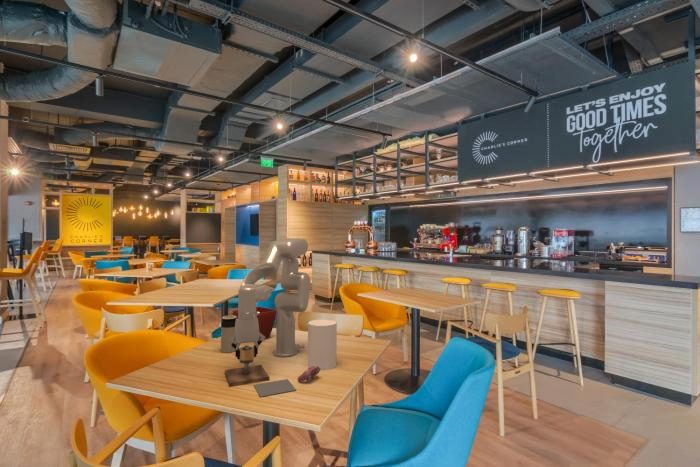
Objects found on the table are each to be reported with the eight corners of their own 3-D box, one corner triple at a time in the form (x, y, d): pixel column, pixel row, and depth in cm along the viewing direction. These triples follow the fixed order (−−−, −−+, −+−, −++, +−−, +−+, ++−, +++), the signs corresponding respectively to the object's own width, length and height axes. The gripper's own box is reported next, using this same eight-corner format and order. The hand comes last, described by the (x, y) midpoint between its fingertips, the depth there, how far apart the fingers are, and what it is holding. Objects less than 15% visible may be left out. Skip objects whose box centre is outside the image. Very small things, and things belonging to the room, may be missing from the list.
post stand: (261, 367, 163) (261, 339, 164) (269, 380, 149) (269, 349, 149) (224, 373, 156) (225, 343, 157) (229, 386, 142) (229, 354, 142)
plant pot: (231, 338, 212) (231, 310, 212) (258, 332, 227) (258, 306, 227) (249, 344, 200) (250, 314, 200) (277, 338, 214) (277, 310, 215)
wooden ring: (252, 354, 157) (252, 345, 157) (255, 359, 151) (255, 349, 152) (237, 356, 154) (237, 347, 154) (240, 361, 149) (240, 351, 149)
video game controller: (303, 387, 145) (309, 374, 144) (295, 380, 148) (301, 367, 146) (317, 379, 154) (323, 366, 152) (310, 373, 156) (316, 360, 154)
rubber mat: (287, 379, 149) (287, 379, 149) (296, 390, 139) (296, 389, 139) (253, 385, 143) (253, 384, 143) (260, 397, 132) (260, 396, 132)
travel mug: (233, 353, 185) (234, 318, 185) (218, 353, 185) (219, 318, 185) (238, 348, 193) (239, 315, 193) (224, 348, 193) (224, 315, 193)
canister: (341, 366, 165) (341, 323, 166) (314, 371, 159) (315, 327, 159) (328, 358, 177) (329, 318, 178) (303, 362, 171) (303, 321, 171)
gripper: (265, 312, 160) (264, 352, 160) (225, 315, 153) (224, 357, 152) (269, 315, 154) (268, 357, 153) (227, 319, 146) (226, 362, 146)
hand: (246, 356), depth 153 cm, fingers closed on wooden ring, 6 cm apart
